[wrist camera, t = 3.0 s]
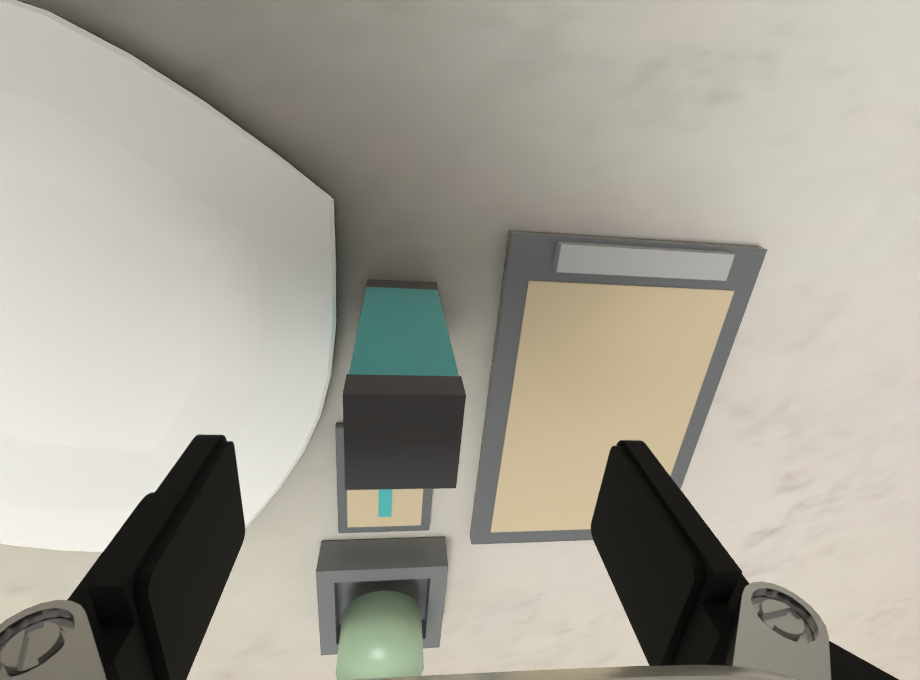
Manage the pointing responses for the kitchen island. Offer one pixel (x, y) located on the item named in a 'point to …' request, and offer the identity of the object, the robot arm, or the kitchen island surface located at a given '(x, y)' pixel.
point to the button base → (381, 580)
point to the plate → (144, 288)
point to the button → (380, 637)
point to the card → (378, 503)
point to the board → (599, 370)
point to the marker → (402, 392)
